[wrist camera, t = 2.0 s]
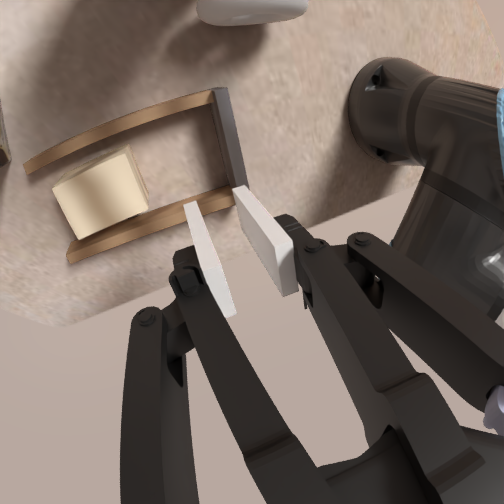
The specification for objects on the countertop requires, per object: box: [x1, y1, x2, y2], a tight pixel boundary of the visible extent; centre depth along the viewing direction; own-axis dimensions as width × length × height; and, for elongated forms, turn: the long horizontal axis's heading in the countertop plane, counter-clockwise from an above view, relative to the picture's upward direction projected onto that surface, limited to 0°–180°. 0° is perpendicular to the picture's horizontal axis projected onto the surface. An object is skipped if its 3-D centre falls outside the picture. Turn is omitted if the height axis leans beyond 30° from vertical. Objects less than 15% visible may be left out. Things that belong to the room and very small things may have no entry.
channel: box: [23, 87, 250, 264], centre depth 28 cm, size 21×12×4 cm, turn 101°
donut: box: [196, 0, 308, 26], centre depth 20 cm, size 10×4×10 cm, turn 96°
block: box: [52, 144, 149, 240], centre depth 27 cm, size 8×6×5 cm
